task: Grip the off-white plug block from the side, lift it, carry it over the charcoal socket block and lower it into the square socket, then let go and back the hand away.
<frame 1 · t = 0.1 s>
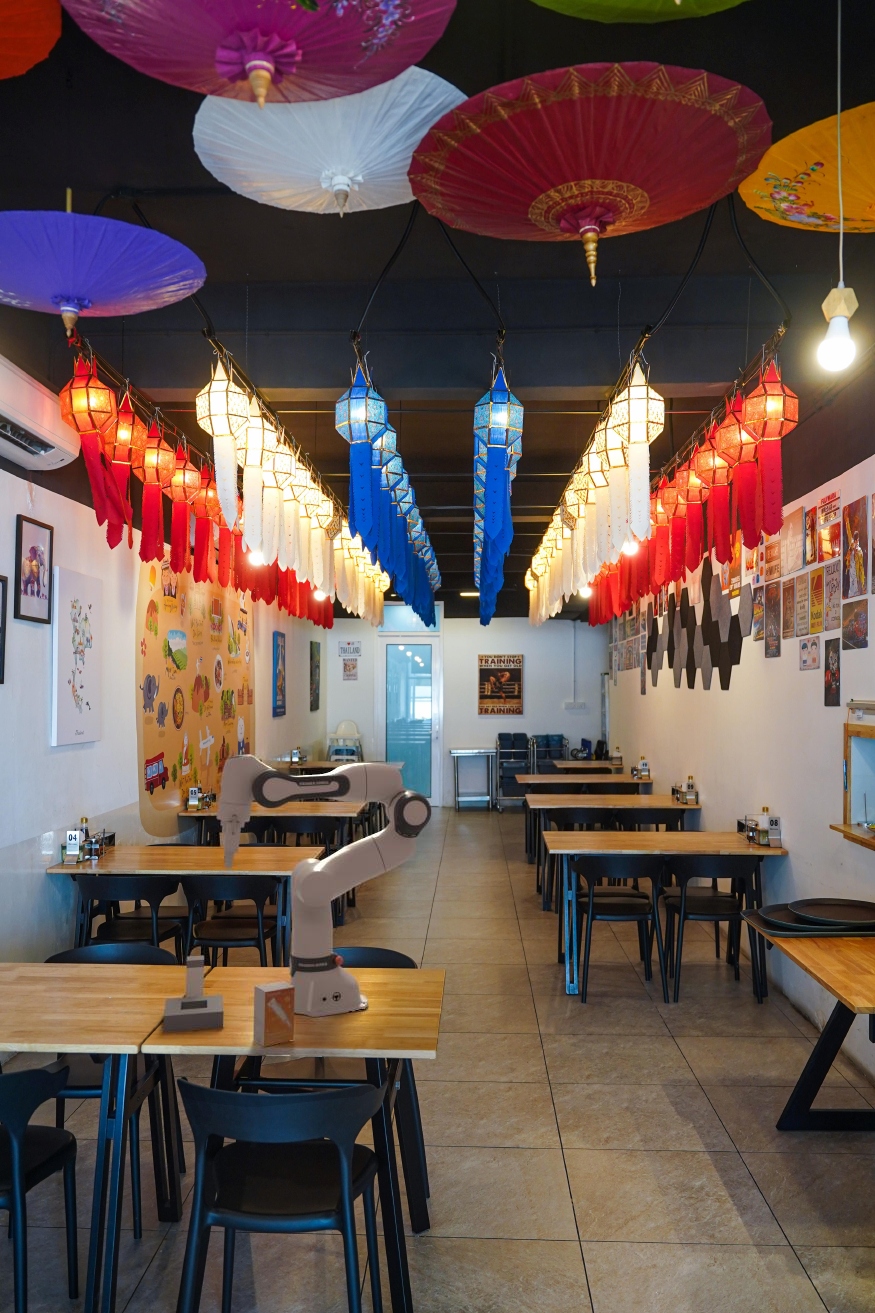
hand: (227, 865, 239), 39 cm above the table, tool pointing down, fingers open, 8 cm apart
plug: (194, 1002, 246), on the table
socket block: (193, 1020, 230), on the table
small box: (273, 1041, 216), on the table
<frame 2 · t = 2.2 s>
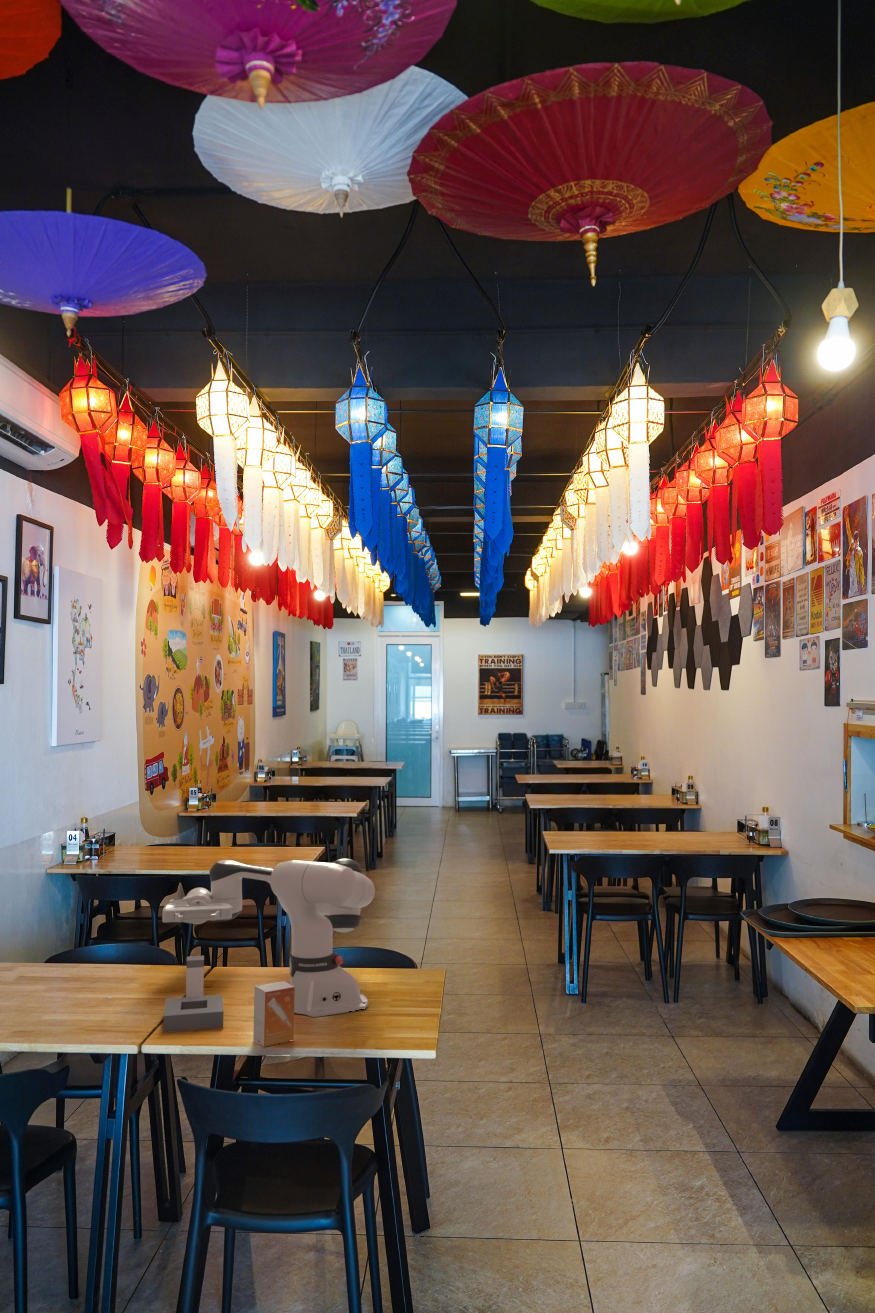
hand: (197, 918, 259), 20 cm above the table, tool horizontal, fingers open, 8 cm apart
nothing on the table moved.
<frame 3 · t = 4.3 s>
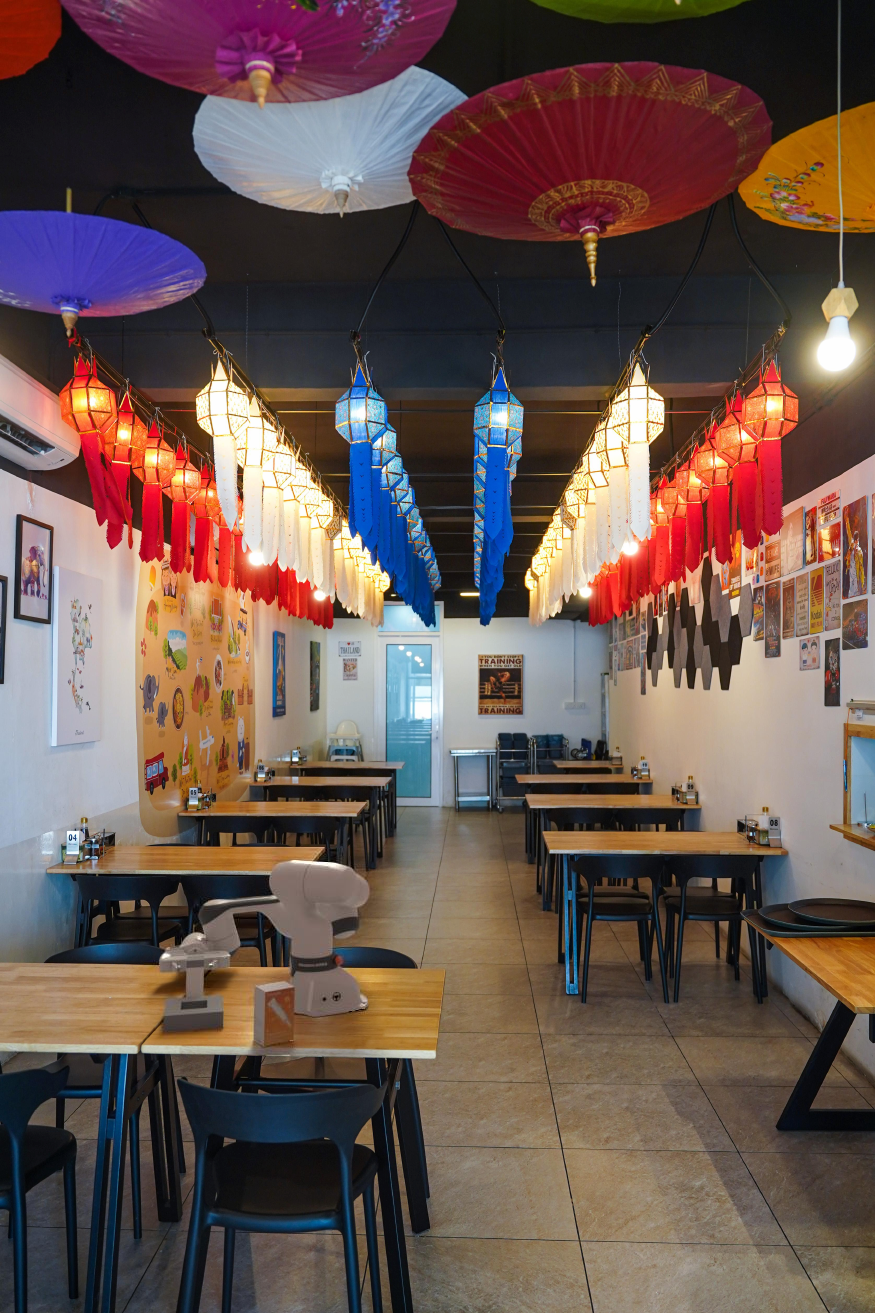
hand: (194, 968, 255), 7 cm above the table, tool horizontal, fingers open, 8 cm apart
nothing on the table moved.
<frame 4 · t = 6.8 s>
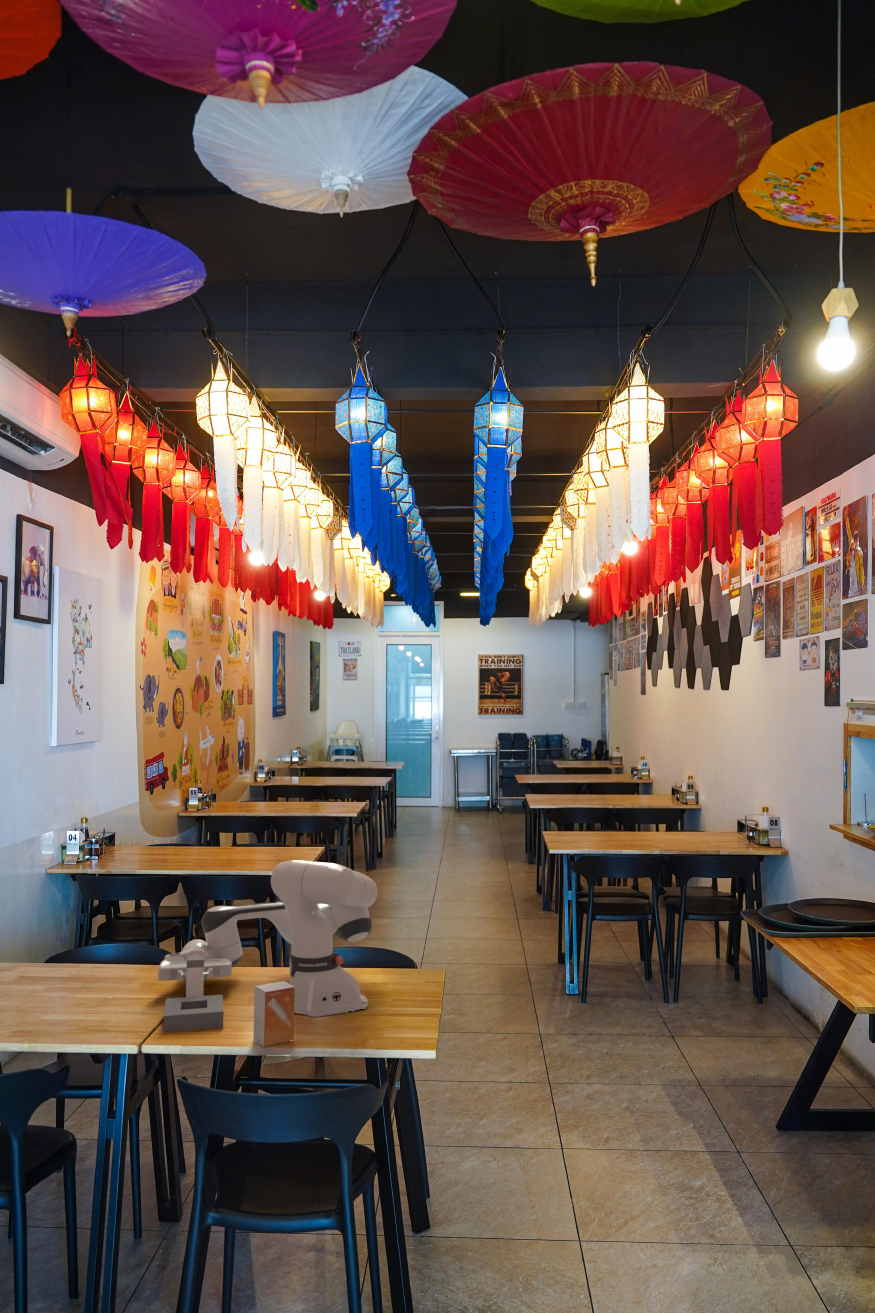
hand: (195, 977, 246), 7 cm above the table, tool horizontal, fingers closed on plug, 5 cm apart
plug: (194, 1002, 246), on the table, touching gripper
everything else where it was.
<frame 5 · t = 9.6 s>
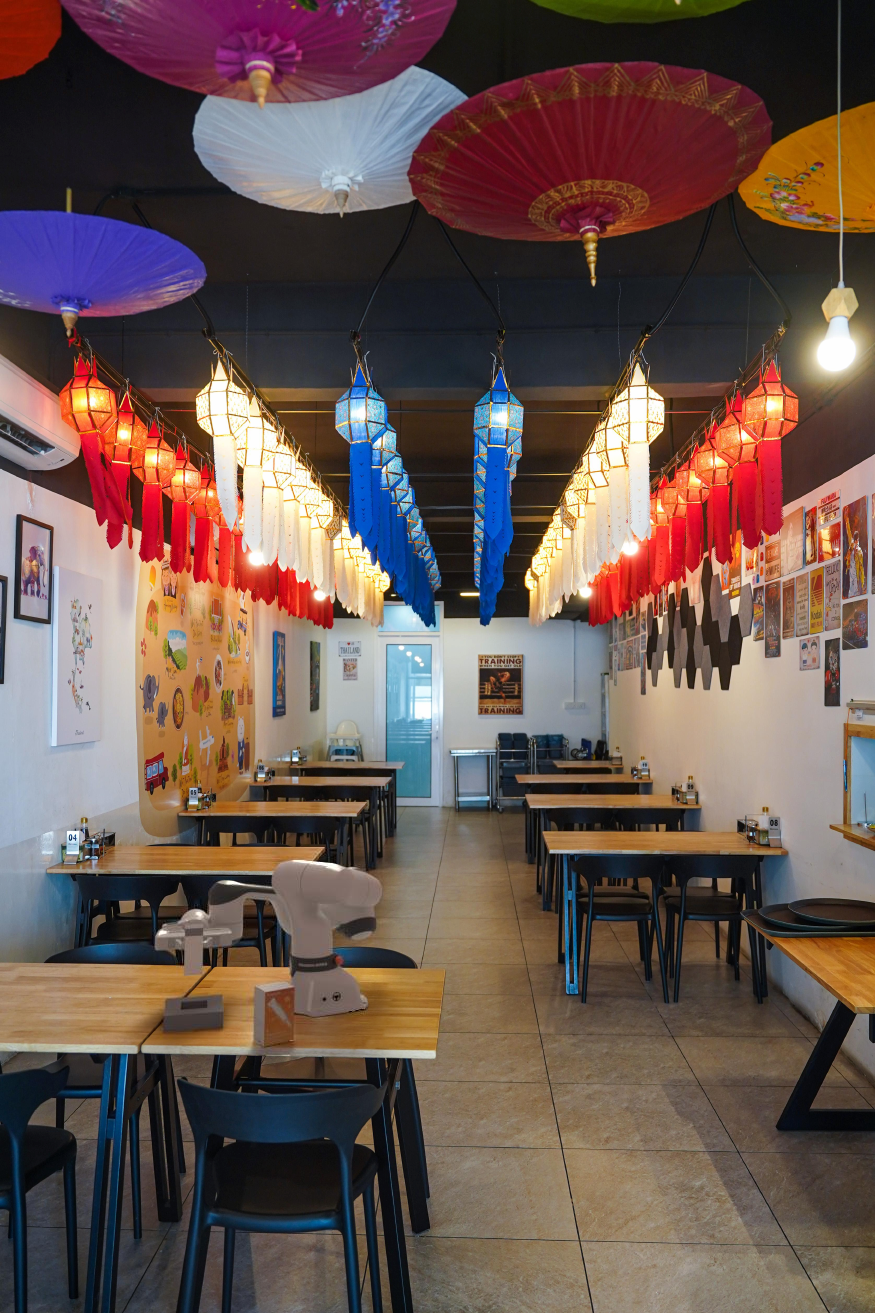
hand: (193, 946, 234), 19 cm above the table, tool horizontal, fingers closed on plug, 5 cm apart
plug: (193, 972, 234), point 11 cm above the table, touching gripper
everything else where it was.
when the fingers open (8 cm above the table, at t = 12.4 s): plug drops 1 cm, resting in socket block.
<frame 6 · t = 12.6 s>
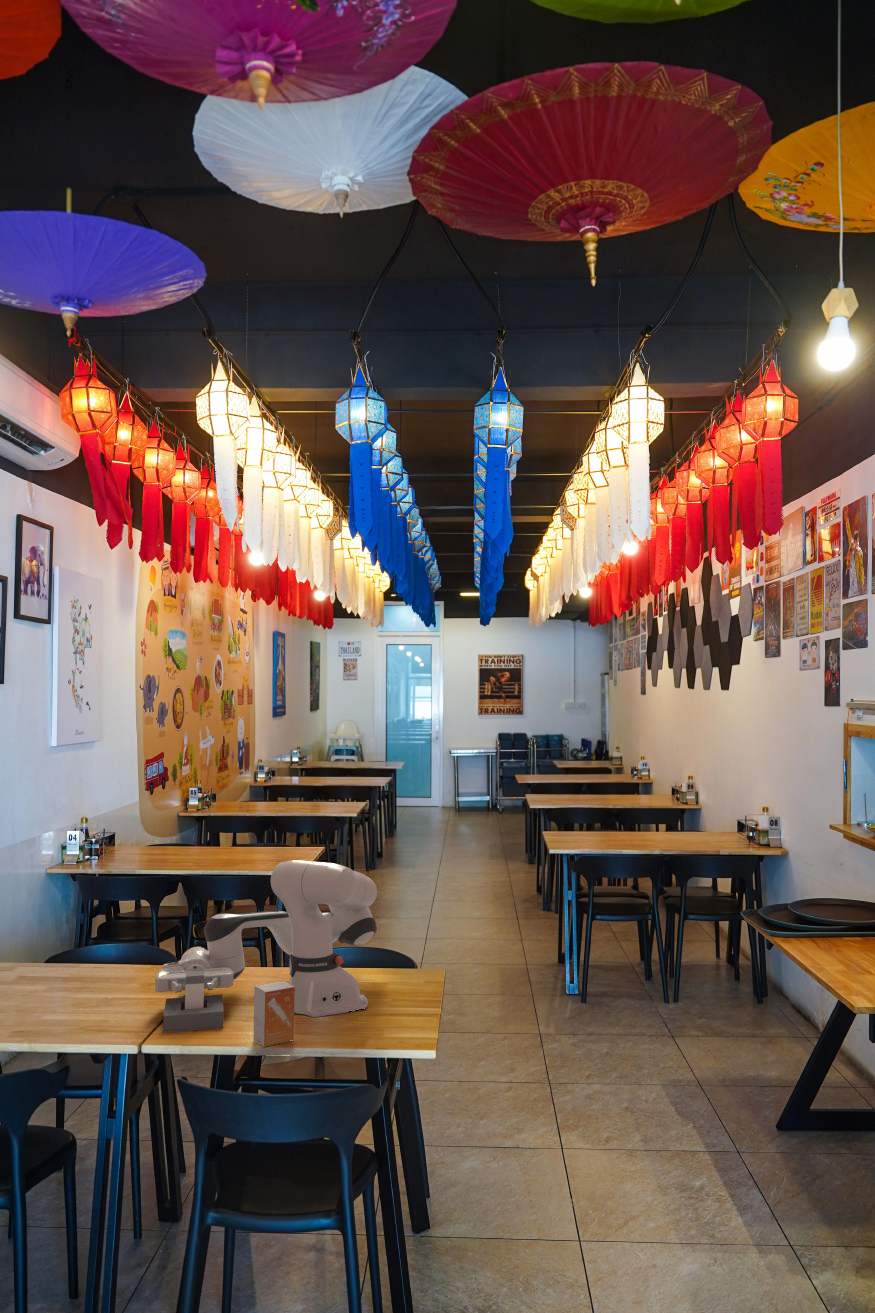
hand: (194, 988, 230), 8 cm above the table, tool horizontal, fingers open, 7 cm apart
plug: (193, 1020, 230), resting in socket block
everything else where it was.
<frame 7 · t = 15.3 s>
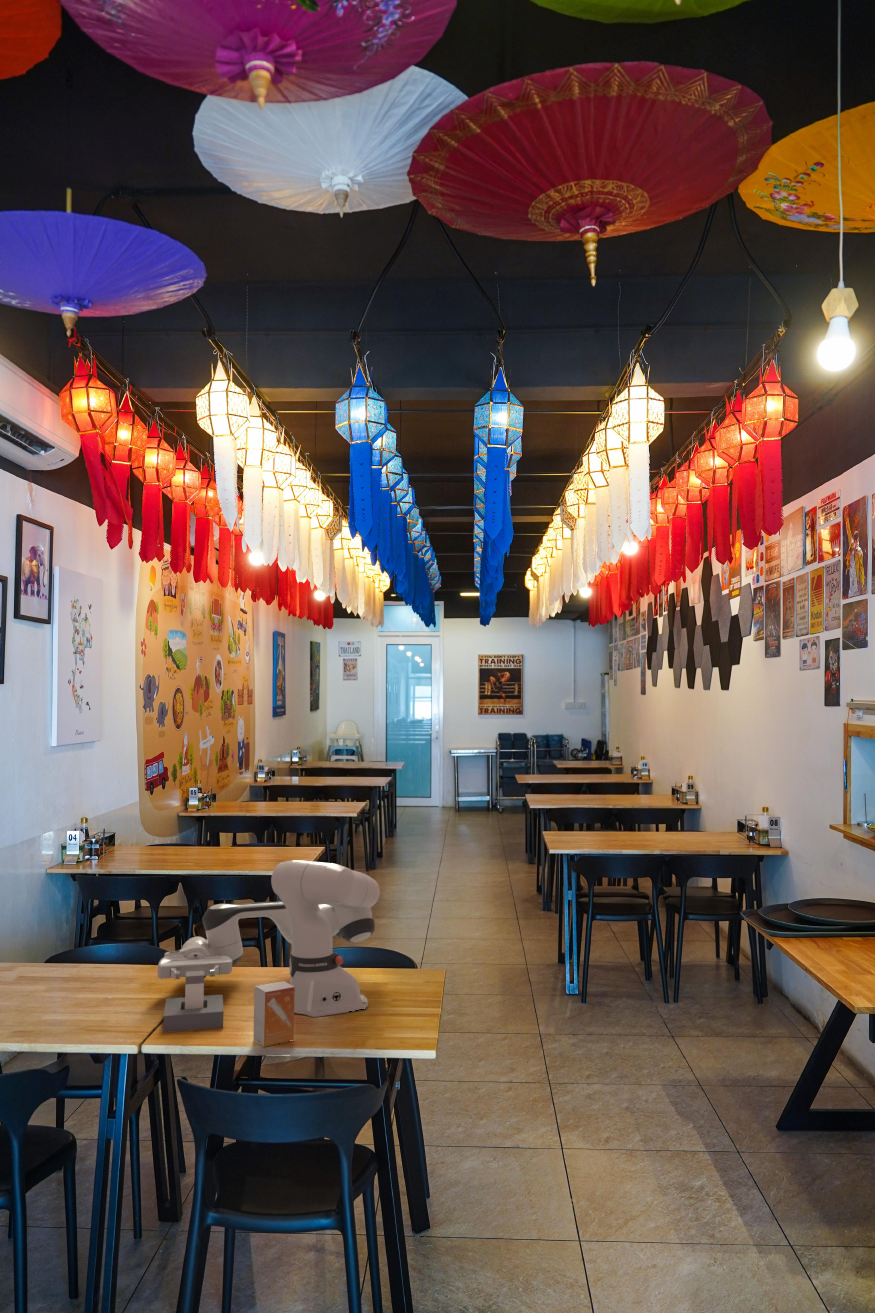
hand: (194, 975, 243), 8 cm above the table, tool horizontal, fingers open, 8 cm apart
nothing on the table moved.
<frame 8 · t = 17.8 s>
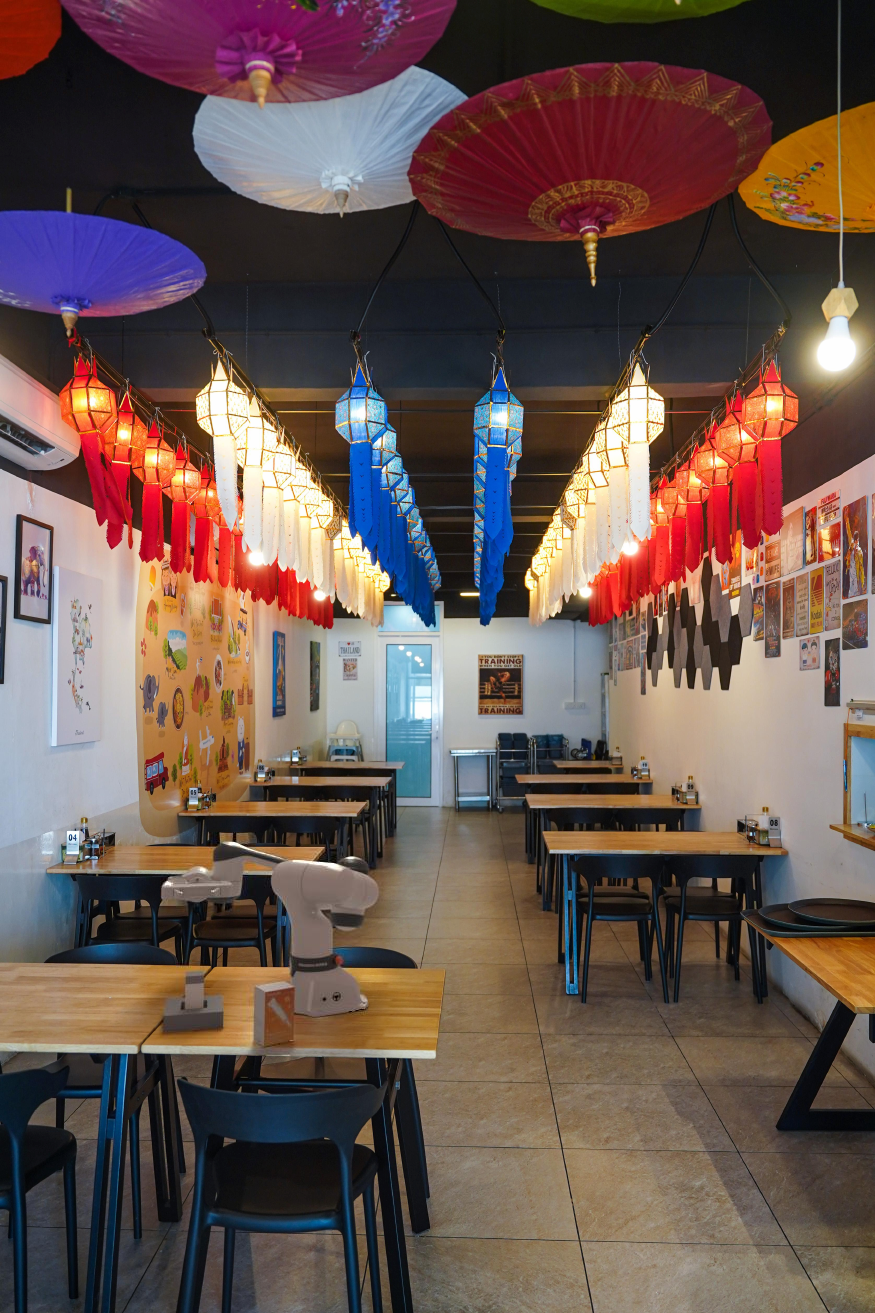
hand: (196, 895, 255), 28 cm above the table, tool horizontal, fingers open, 8 cm apart
nothing on the table moved.
at the end: plug 0.0 cm off-centre on the socket block, point 0.0 cm above the socket block's base; plug tilted 0°; the gripper is holding nothing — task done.
